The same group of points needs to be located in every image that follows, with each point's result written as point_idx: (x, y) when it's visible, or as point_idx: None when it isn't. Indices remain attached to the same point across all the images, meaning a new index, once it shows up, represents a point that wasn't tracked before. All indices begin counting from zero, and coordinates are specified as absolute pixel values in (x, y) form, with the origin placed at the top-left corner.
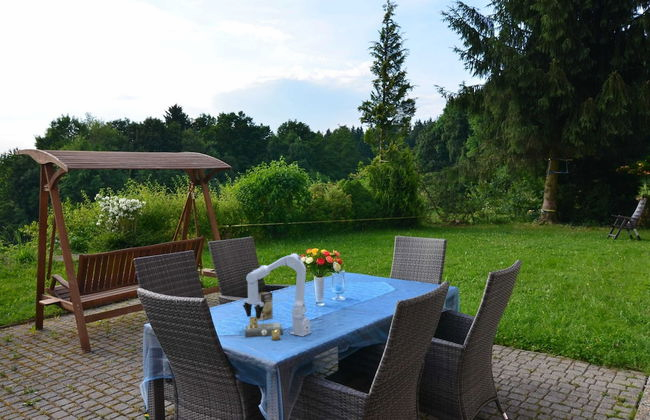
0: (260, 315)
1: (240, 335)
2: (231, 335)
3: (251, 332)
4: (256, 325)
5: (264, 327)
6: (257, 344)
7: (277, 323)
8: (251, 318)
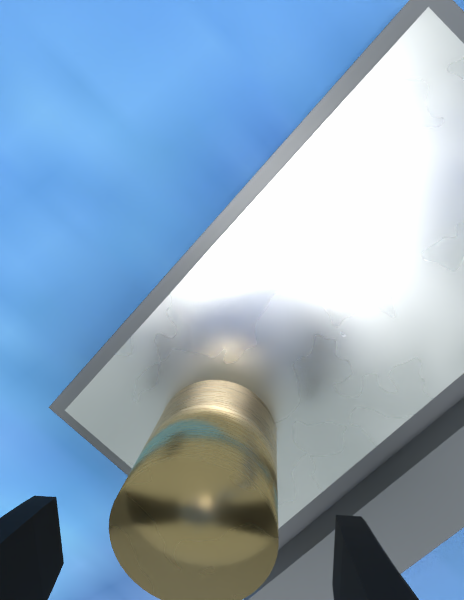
0: (391, 568)
1: None
2: (117, 593)
3: None
4: (276, 451)
5: (395, 385)
6: None
7: (434, 71)
8: (200, 595)
